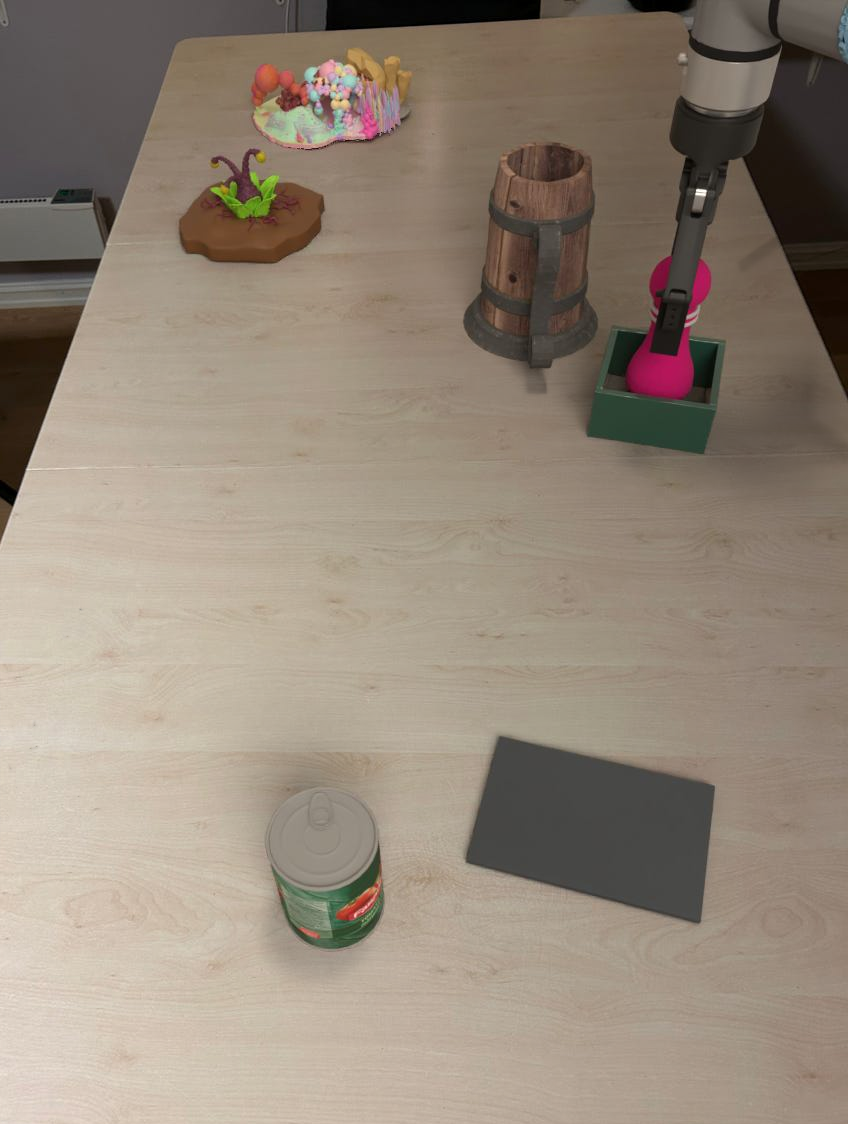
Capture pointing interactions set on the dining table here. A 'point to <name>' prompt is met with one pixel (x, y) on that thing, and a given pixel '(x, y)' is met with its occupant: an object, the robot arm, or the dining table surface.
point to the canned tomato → (327, 867)
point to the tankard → (537, 257)
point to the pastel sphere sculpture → (331, 101)
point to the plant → (251, 216)
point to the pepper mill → (663, 370)
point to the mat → (595, 828)
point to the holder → (656, 398)
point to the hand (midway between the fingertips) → (671, 314)
